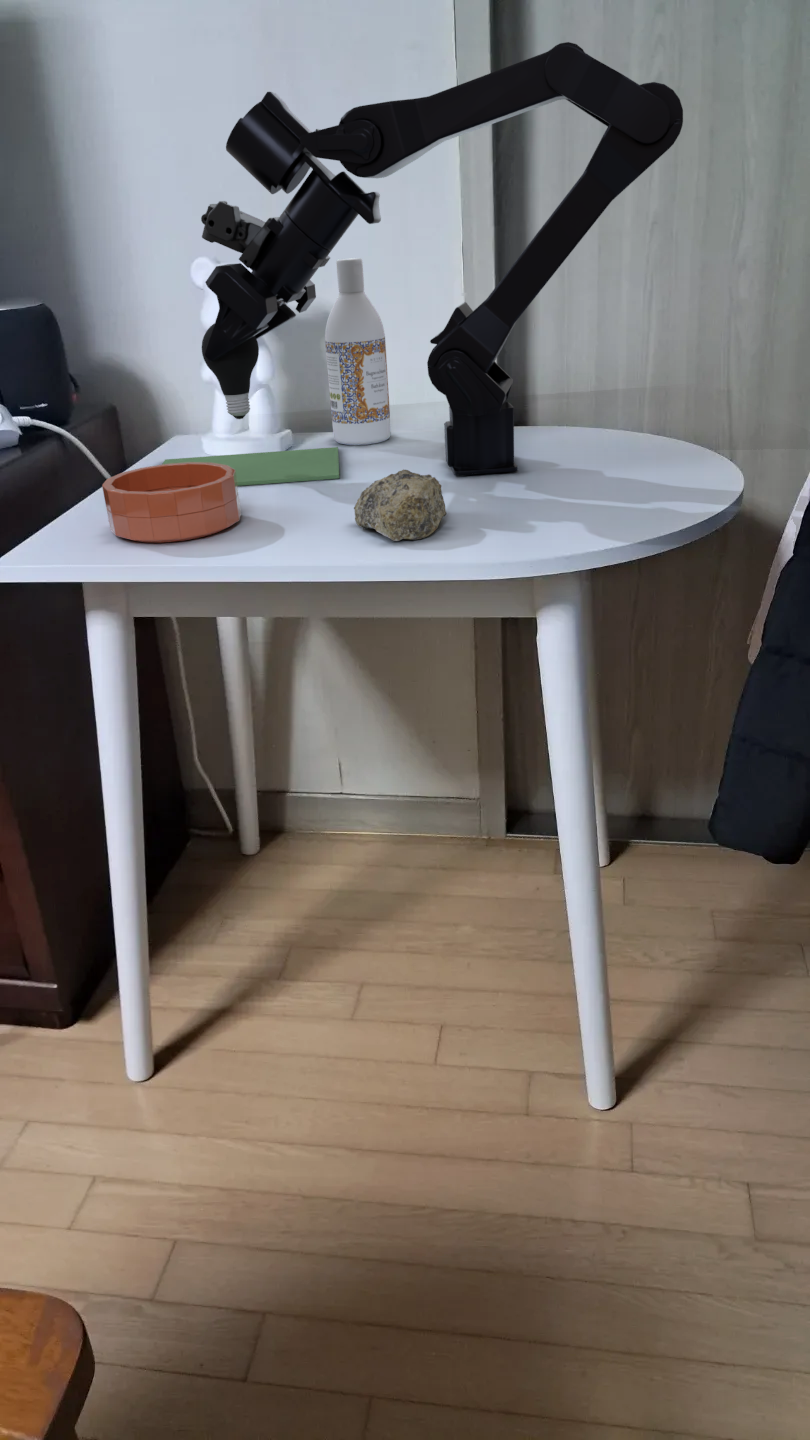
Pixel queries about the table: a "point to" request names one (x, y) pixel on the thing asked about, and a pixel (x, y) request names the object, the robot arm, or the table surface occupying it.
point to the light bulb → (234, 373)
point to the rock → (402, 506)
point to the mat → (277, 465)
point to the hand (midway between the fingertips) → (218, 354)
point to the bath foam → (356, 362)
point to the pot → (172, 501)
